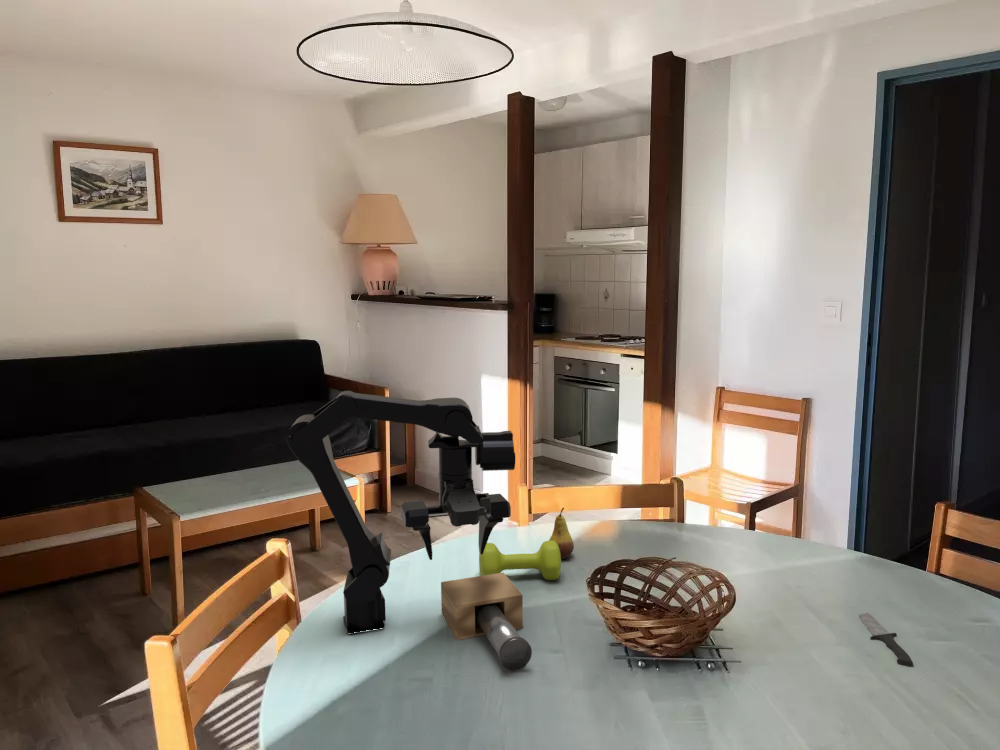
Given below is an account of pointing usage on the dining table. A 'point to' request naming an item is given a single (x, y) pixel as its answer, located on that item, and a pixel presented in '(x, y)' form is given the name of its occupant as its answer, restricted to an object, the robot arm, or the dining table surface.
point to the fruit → (562, 536)
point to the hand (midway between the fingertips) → (456, 556)
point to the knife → (885, 638)
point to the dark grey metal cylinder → (503, 637)
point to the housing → (479, 602)
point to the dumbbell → (522, 560)
